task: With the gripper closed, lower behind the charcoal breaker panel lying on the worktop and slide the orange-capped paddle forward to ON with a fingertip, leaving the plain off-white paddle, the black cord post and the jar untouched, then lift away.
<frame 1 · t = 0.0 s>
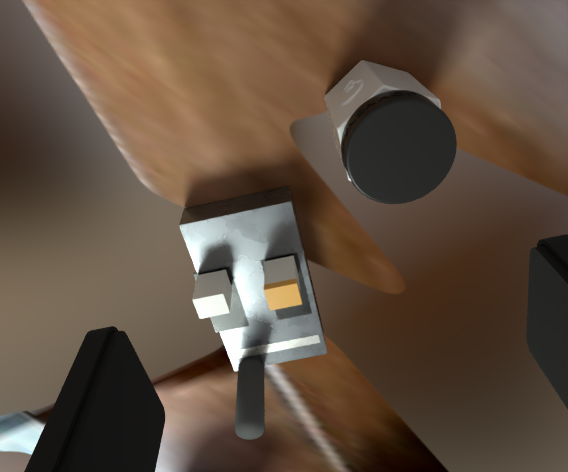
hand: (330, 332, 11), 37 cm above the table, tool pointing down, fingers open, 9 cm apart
paddle on: (282, 282, 48), point 6 cm above the table, slide at 0.0 cm
paddle off: (213, 293, 49), point 6 cm above the table, slide at 0.0 cm
cord post: (251, 346, 61), on the table
breaker panel: (259, 276, 55), on the table
jar: (369, 107, 46), on the table
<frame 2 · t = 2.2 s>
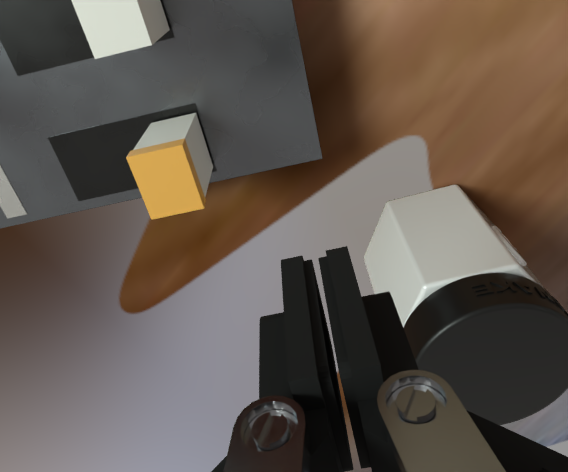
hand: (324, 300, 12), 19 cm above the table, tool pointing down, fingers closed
paddle on: (175, 162, 24), point 6 cm above the table, slide at 0.0 cm
paddle off: (121, 6, 21), point 6 cm above the table, slide at 0.0 cm
breaker panel: (125, 83, 28), on the table
jar: (426, 239, 34), on the table
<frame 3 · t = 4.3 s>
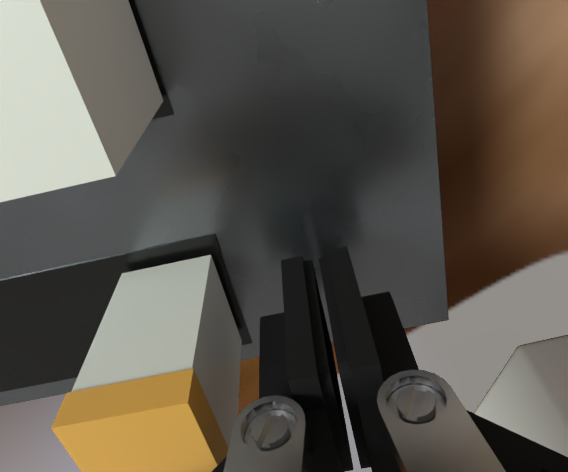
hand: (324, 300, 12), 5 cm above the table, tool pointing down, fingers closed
paddle on: (170, 374, 11), point 6 cm above the table, slide at 0.2 cm, touching gripper
paddle off: (43, 62, 8), point 6 cm above the table, slide at 0.0 cm
breaker panel: (83, 176, 16), on the table
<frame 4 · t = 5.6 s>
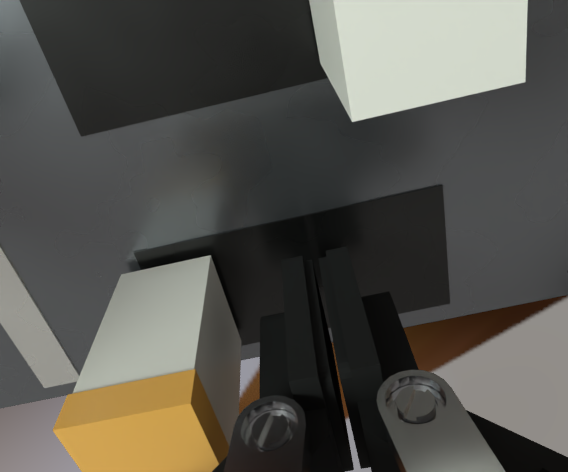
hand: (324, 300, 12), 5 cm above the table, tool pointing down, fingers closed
paddle on: (171, 375, 11), point 6 cm above the table, slide at 6.0 cm, touching gripper
breaker panel: (263, 134, 15), on the table
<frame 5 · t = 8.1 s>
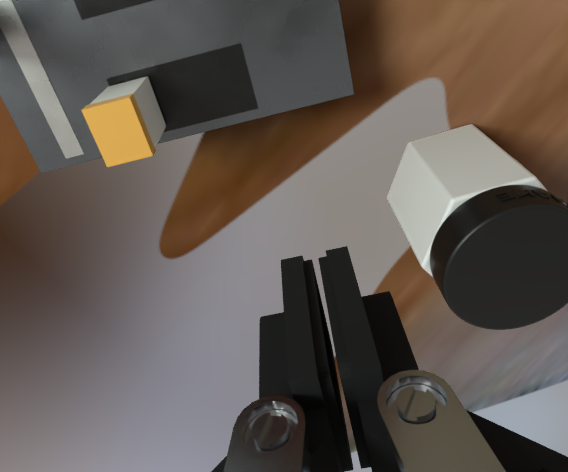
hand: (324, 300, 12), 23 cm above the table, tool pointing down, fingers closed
paddle on: (128, 119, 27), point 6 cm above the table, slide at 5.6 cm
breaker panel: (171, 32, 31), on the table
jar: (444, 179, 37), on the table
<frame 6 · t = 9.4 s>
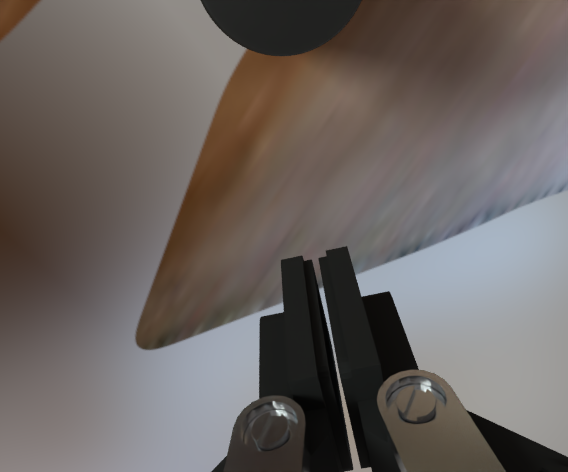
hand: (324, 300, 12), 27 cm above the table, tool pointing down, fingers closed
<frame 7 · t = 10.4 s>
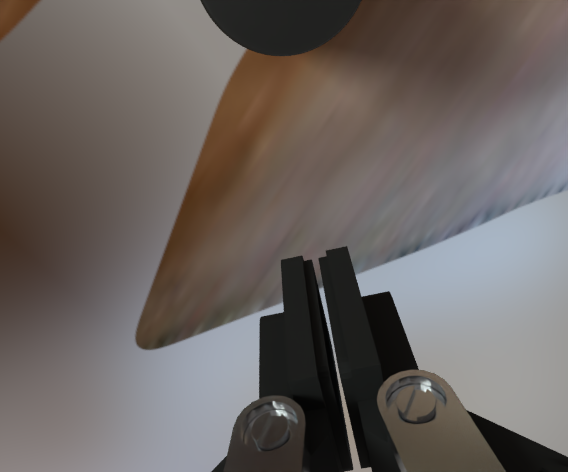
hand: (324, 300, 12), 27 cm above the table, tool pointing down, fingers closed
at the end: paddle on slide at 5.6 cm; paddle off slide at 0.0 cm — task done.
